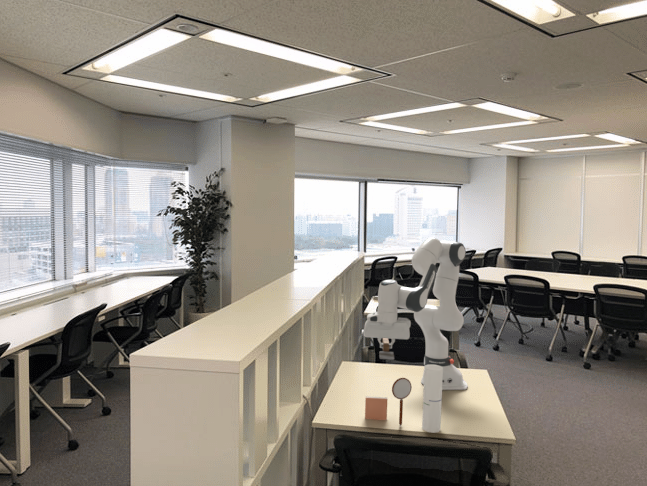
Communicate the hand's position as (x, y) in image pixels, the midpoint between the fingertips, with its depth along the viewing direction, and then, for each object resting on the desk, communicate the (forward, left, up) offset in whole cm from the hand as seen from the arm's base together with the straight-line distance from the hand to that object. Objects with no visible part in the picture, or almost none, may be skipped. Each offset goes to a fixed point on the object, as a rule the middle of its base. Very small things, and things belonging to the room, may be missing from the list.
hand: (385, 347), depth 220 cm
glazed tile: (+4, +15, -26) cm, 30 cm away
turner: (0, +1, -2) cm, 2 cm away
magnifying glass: (-6, +21, -26) cm, 34 cm away
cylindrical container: (-18, +21, -26) cm, 38 cm away
